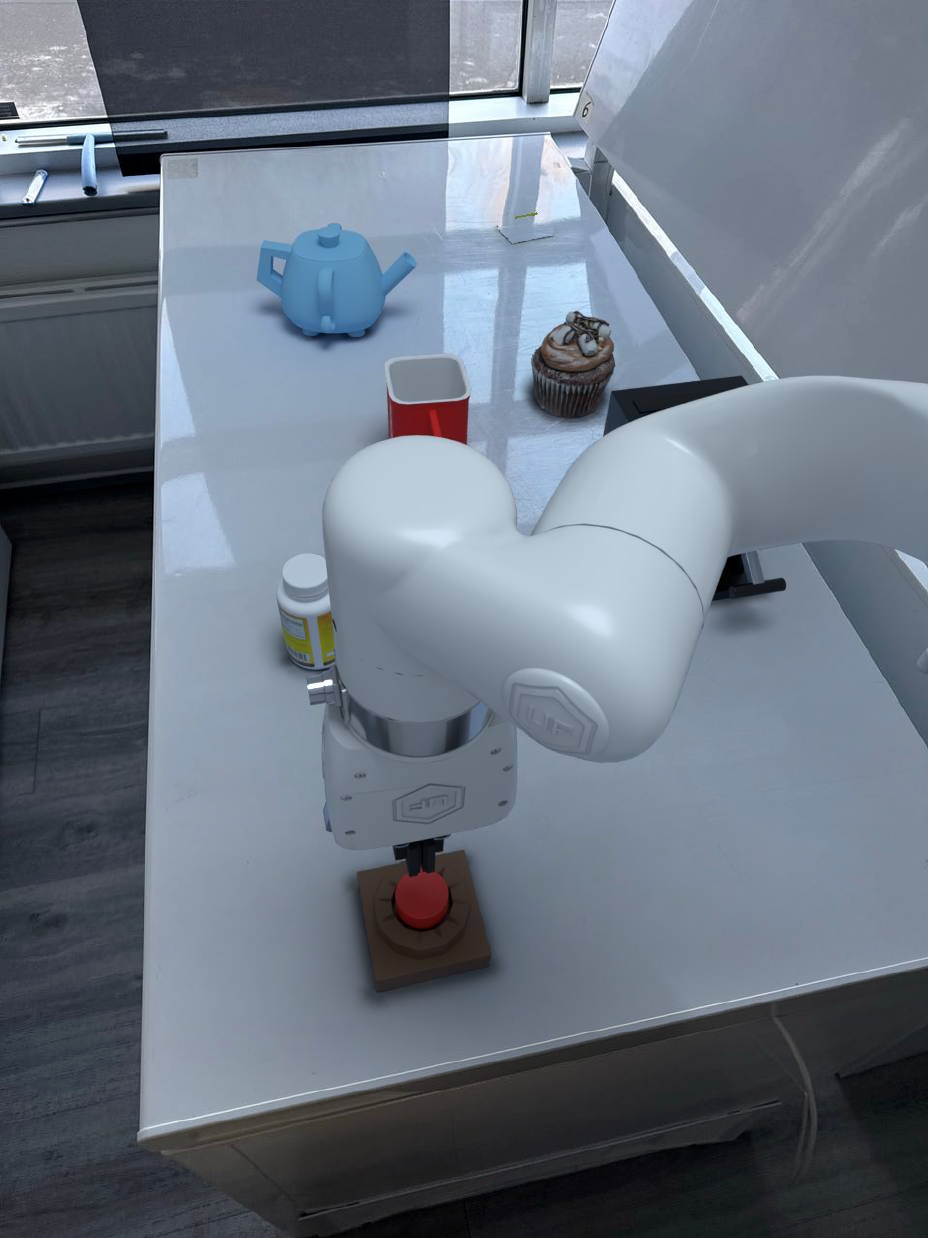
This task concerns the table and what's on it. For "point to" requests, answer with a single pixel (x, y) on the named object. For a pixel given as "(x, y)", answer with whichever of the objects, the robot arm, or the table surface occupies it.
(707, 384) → the toaster
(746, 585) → the toaster lever
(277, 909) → the table surface
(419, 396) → the mug
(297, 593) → the supplement bottle
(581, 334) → the cupcake
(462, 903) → the button block
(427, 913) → the red button
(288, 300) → the teapot
